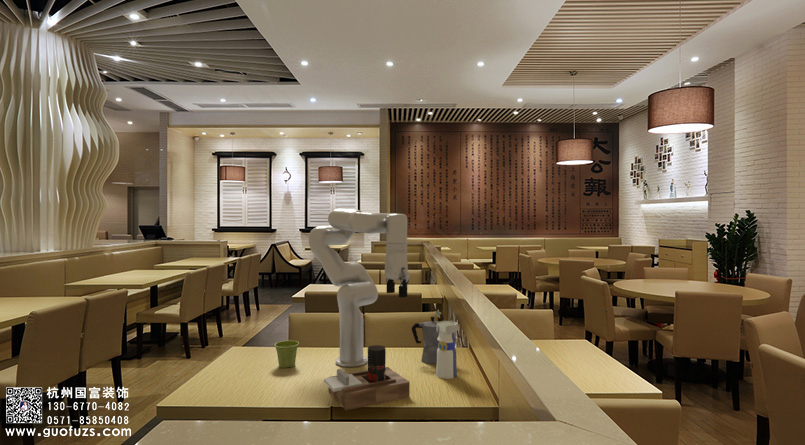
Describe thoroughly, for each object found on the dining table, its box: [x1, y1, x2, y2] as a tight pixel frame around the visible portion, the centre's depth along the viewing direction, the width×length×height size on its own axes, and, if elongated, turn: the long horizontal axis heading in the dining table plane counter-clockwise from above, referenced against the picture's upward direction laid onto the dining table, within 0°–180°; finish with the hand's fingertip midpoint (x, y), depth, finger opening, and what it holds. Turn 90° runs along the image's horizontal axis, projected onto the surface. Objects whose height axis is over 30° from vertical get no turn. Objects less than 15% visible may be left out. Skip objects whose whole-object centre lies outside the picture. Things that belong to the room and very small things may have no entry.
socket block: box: [328, 366, 410, 412], centre depth 146 cm, size 16×22×6 cm
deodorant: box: [367, 344, 387, 383], centre depth 148 cm, size 6×6×15 cm
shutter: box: [323, 368, 362, 392], centre depth 142 cm, size 10×10×4 cm
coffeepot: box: [411, 316, 439, 365], centre depth 181 cm, size 15×9×18 cm, turn 103°
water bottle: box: [435, 308, 460, 380], centre depth 164 cm, size 8×9×25 cm
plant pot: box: [273, 340, 300, 369], centre depth 174 cm, size 9×9×9 cm
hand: (396, 294), depth 161 cm, fingers open, 9 cm apart
